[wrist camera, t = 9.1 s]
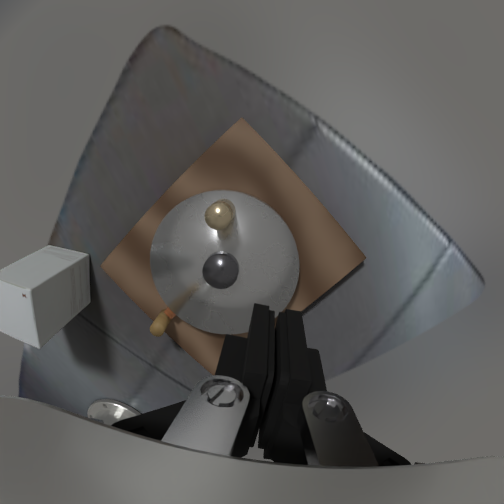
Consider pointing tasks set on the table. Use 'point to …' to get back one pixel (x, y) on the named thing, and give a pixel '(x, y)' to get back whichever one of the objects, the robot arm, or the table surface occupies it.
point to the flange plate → (223, 260)
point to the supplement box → (43, 293)
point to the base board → (258, 185)
